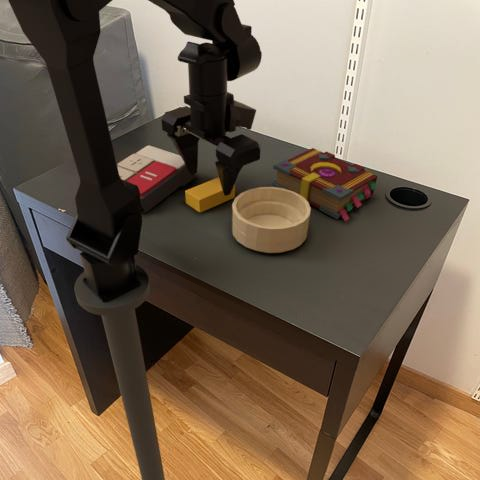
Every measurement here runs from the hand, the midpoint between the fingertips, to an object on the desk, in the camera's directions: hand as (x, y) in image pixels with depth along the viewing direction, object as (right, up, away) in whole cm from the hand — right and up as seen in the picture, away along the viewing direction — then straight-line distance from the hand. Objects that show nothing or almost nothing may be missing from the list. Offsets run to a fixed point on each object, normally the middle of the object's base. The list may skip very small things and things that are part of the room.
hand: (210, 184), depth 83 cm
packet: (0, -2, +2) cm, 3 cm away
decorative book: (+21, 0, +5) cm, 21 cm away
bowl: (+10, -9, -5) cm, 14 cm away
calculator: (-12, +1, +5) cm, 13 cm away
